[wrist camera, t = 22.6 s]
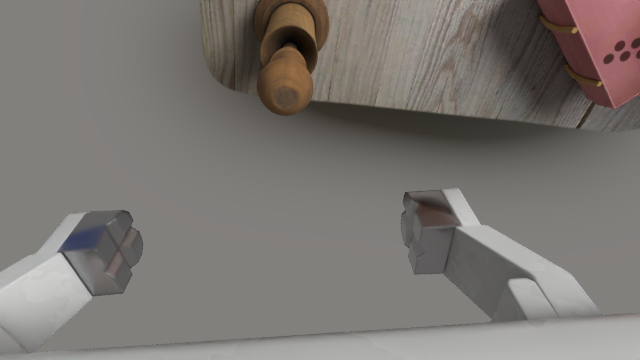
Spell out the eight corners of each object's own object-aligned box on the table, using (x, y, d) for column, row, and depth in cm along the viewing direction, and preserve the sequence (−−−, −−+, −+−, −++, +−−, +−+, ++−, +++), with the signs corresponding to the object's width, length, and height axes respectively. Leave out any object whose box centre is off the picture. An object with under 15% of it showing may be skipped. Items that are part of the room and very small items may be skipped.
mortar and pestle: (325, -23, 30) (347, 23, 16) (330, 52, 34) (351, 146, 20) (249, -16, 31) (202, 38, 16) (263, 59, 34) (234, 157, 20)
